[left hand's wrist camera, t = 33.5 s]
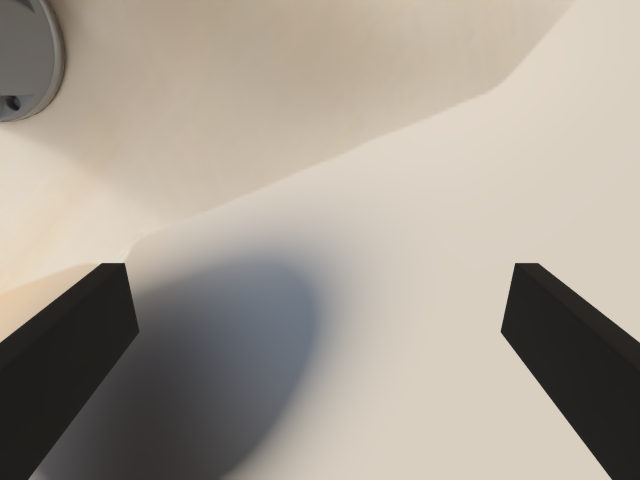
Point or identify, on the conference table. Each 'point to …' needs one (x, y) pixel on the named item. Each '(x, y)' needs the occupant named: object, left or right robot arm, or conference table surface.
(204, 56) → the conference table surface
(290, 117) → the conference table surface
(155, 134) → the conference table surface
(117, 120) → the conference table surface
